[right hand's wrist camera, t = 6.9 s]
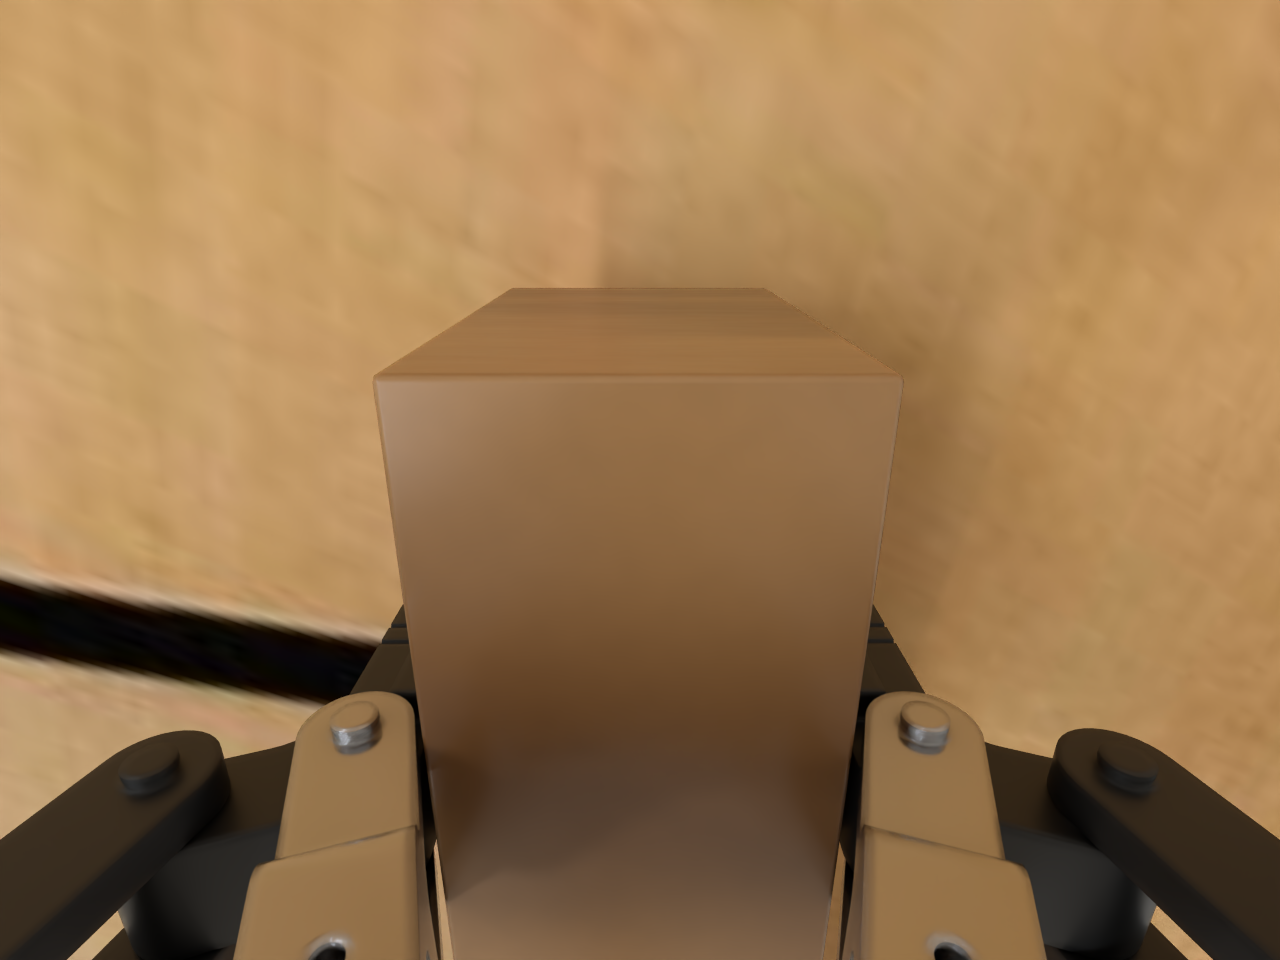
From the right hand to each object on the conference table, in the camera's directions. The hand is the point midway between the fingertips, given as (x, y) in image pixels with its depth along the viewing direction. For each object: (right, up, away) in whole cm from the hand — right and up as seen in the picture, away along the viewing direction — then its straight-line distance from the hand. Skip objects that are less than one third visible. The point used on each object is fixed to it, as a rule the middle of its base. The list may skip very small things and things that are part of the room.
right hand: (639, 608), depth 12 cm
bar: (0, -24, +12) cm, 27 cm away
